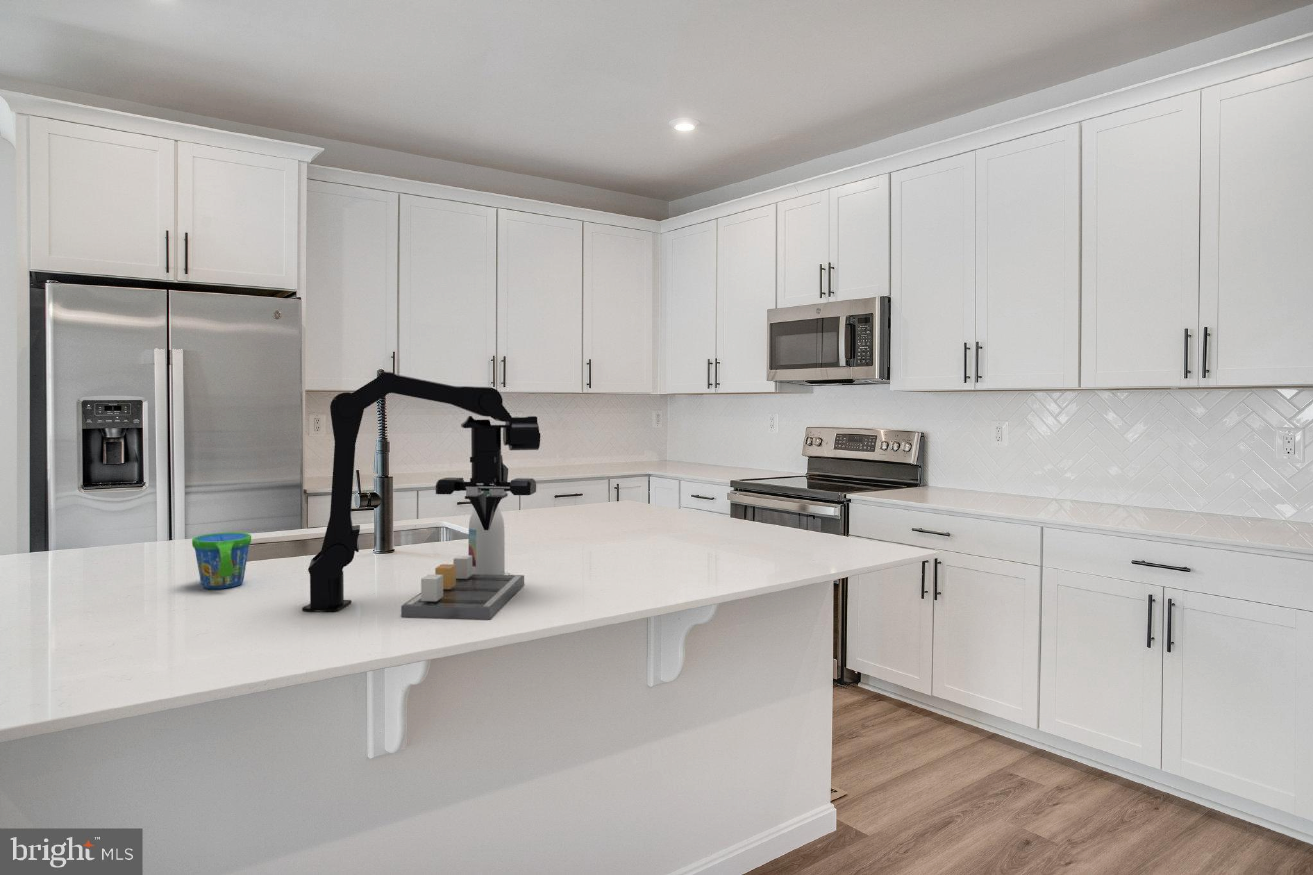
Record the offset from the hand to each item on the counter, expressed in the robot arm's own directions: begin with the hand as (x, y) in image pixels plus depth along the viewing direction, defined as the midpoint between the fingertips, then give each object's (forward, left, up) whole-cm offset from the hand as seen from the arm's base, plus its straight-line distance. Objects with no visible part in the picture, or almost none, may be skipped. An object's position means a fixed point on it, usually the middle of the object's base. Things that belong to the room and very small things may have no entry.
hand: (486, 529), depth 153 cm
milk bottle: (+16, +5, -13) cm, 21 cm away
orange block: (-4, +7, -11) cm, 14 cm away
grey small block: (-13, +6, -11) cm, 18 cm away
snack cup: (+2, +56, -13) cm, 57 cm away
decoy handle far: (+5, +6, -11) cm, 14 cm away
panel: (-4, +3, -13) cm, 14 cm away
